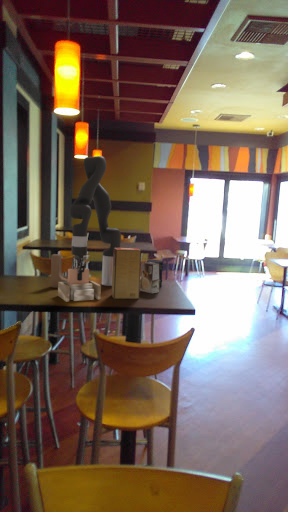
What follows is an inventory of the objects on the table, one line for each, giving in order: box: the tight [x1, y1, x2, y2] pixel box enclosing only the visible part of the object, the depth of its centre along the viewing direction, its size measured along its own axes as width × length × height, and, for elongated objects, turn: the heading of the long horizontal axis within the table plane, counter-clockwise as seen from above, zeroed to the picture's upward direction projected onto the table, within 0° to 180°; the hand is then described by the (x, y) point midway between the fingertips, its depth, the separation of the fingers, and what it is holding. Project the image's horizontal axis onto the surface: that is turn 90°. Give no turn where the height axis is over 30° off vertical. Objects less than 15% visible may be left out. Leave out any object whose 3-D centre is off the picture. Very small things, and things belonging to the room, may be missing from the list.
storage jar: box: [146, 259, 164, 288], centre depth 235 cm, size 10×10×15 cm
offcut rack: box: [57, 280, 102, 303], centre depth 196 cm, size 18×13×7 cm
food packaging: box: [111, 247, 142, 300], centre depth 201 cm, size 13×9×25 cm
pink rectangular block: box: [67, 267, 90, 285], centre depth 197 cm, size 10×3×14 cm, turn 119°
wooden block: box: [50, 253, 68, 289], centre depth 216 cm, size 9×4×18 cm, turn 81°
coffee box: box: [139, 261, 160, 294], centre depth 218 cm, size 9×6×16 cm
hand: (78, 279), depth 197 cm, fingers closed on pink rectangular block, 3 cm apart
